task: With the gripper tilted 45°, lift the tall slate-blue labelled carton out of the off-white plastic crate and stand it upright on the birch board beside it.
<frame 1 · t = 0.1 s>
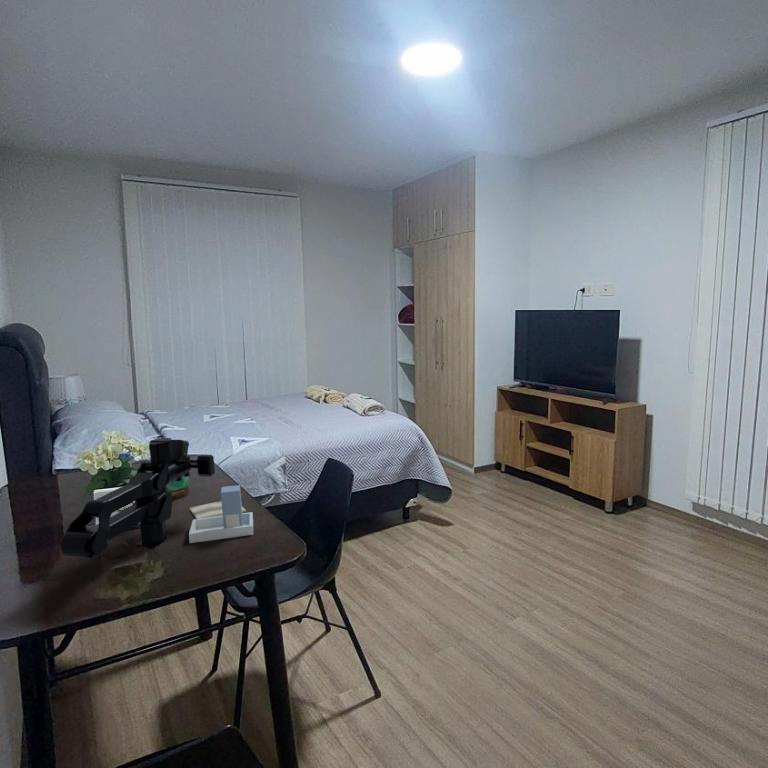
hand: (199, 457, 165), 17 cm above the table, tool horizontal, fingers open, 9 cm apart
board: (217, 512, 163), on the table
carton: (233, 529, 148), resting on crate
crate: (223, 532, 147), on the table
carrying case or bag: (136, 503, 175), on the table
food container: (179, 497, 178), on the table
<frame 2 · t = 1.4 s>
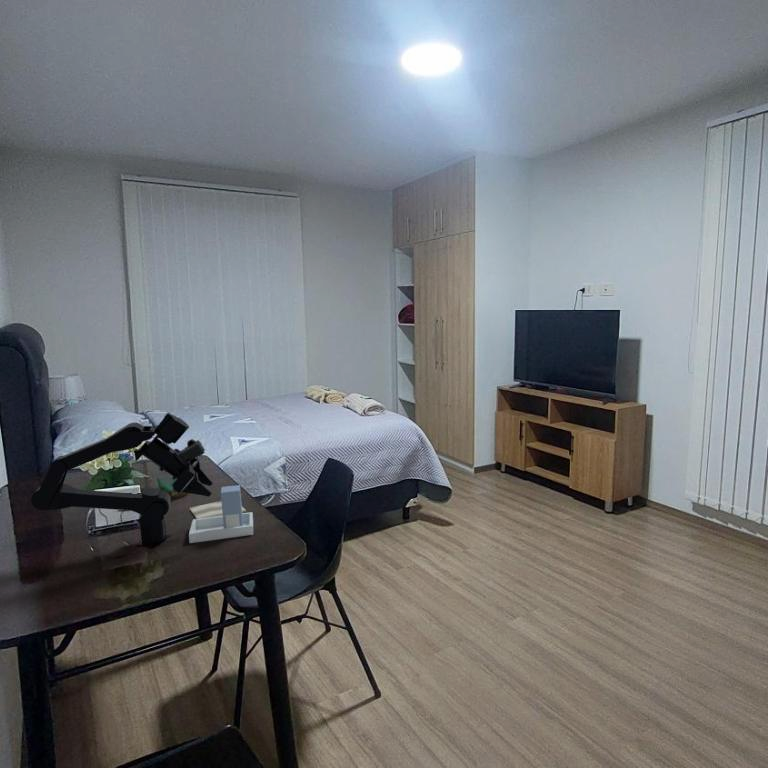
hand: (211, 489, 145), 13 cm above the table, tool tilted 45°, fingers open, 9 cm apart
nothing on the table moved.
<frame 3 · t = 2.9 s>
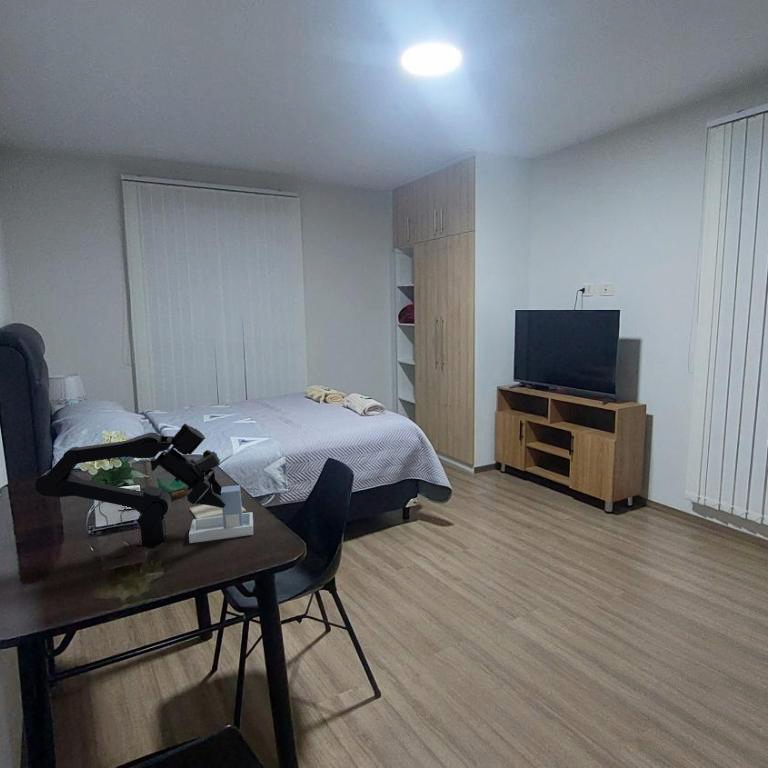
hand: (225, 500, 146), 9 cm above the table, tool tilted 45°, fingers open, 9 cm apart
nothing on the table moved.
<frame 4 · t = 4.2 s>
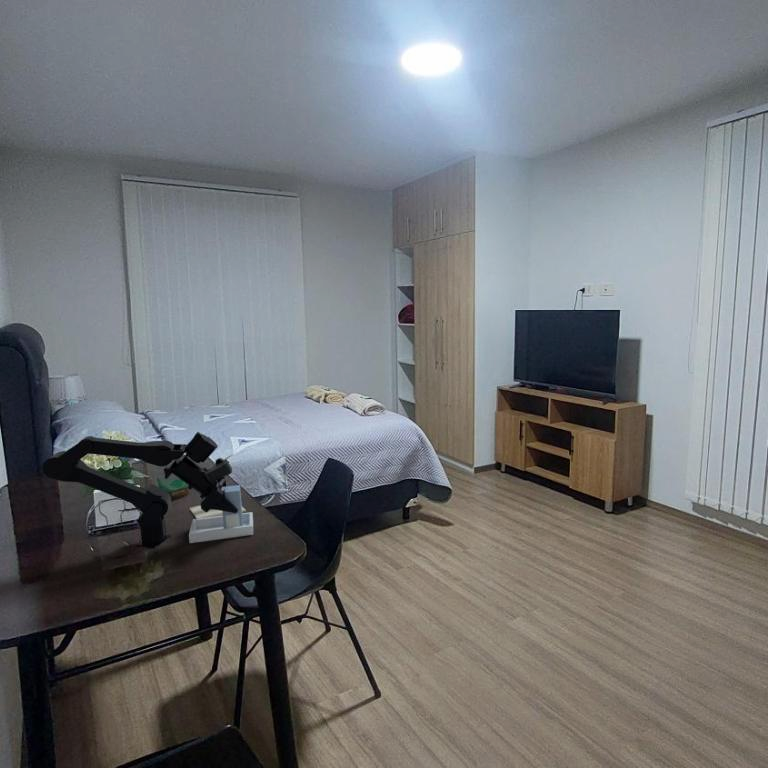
hand: (237, 508, 147), 7 cm above the table, tool tilted 45°, fingers closed on carton, 5 cm apart
carton: (233, 529, 148), resting on crate, touching gripper
everything else where it was.
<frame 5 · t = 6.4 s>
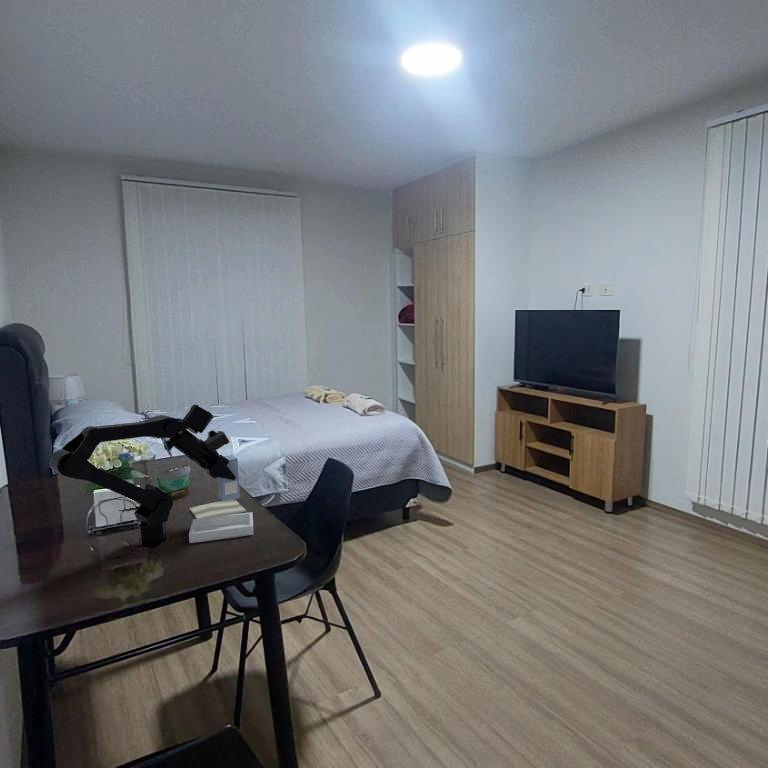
hand: (232, 476, 156), 13 cm above the table, tool tilted 45°, fingers closed on carton, 5 cm apart
carton: (229, 497, 156), point 7 cm above the table, touching gripper
everything else where it was.
when the fingers open (8 cm above the table, at t = 8.5 s): carton drops 1 cm, resting on board.
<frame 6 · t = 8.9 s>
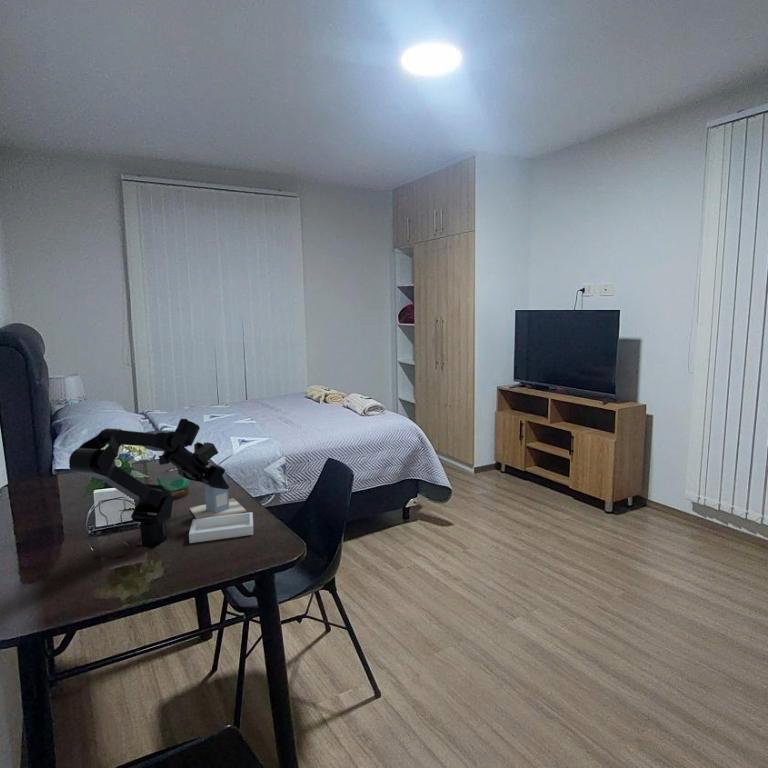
hand: (219, 485, 163), 8 cm above the table, tool tilted 45°, fingers open, 9 cm apart
carton: (217, 509, 163), point 1 cm above the table, touching board
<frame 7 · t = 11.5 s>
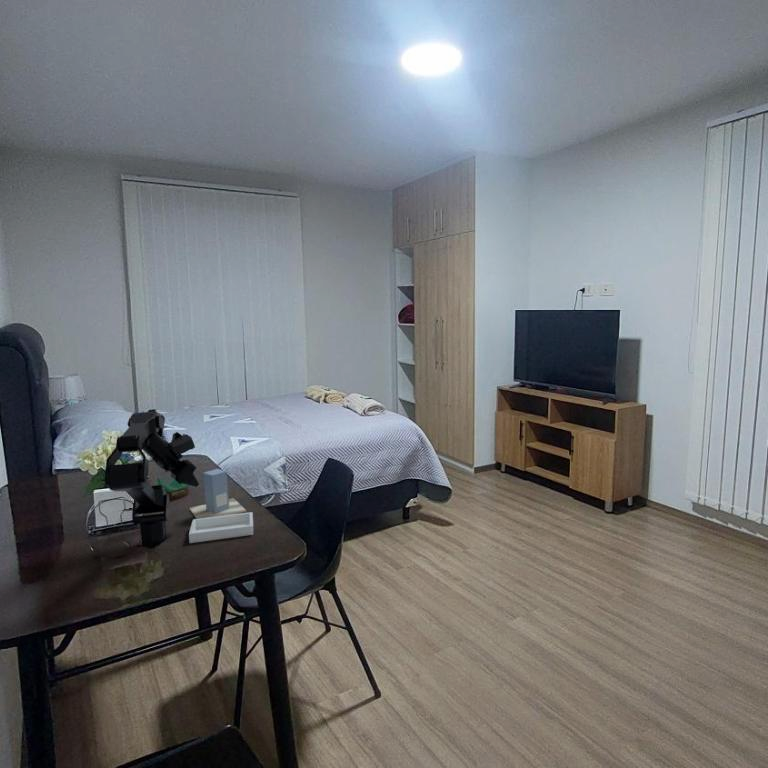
hand: (191, 480, 157), 12 cm above the table, tool tilted 40°, fingers open, 9 cm apart
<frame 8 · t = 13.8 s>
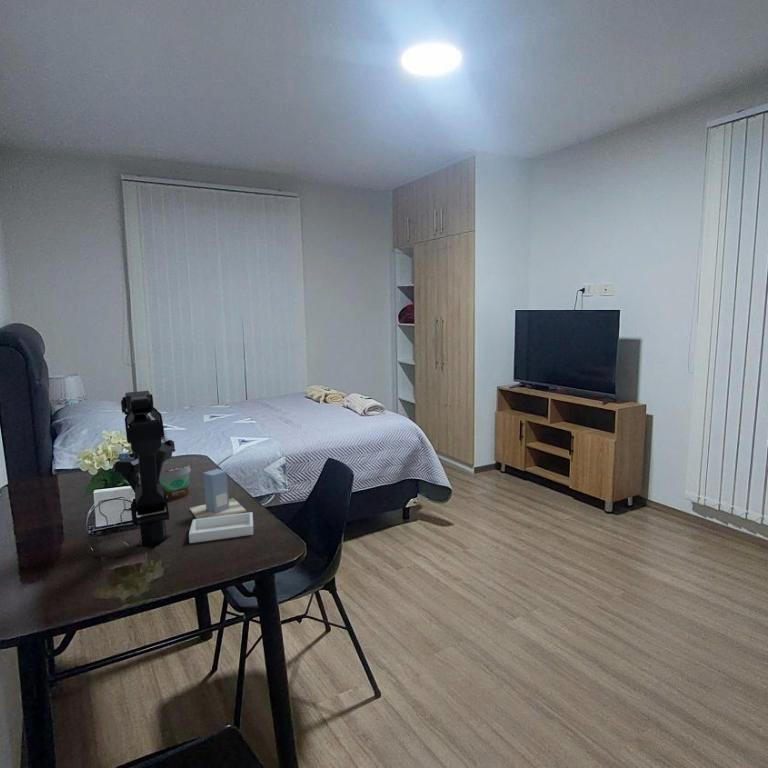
hand: (147, 486, 152), 12 cm above the table, tool pointing down, fingers open, 9 cm apart
at the end: carton inside the target area on the board (0.1 cm from its centre), point 1.0 cm above the board's base; carton tilted 0°; the gripper is holding nothing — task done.
